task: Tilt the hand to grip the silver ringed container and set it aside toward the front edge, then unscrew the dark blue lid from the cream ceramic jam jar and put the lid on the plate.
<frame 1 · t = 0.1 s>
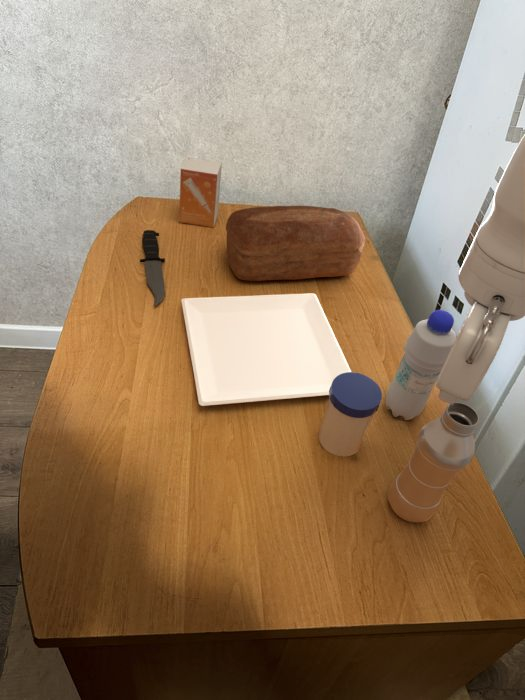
hand: (457, 372, 61), 22 cm above the table, tool pointing down, fingers open, 8 cm apart
bottle: (401, 409, 86), on the table
knife: (153, 270, 106), on the table
lid: (356, 392, 73), point 10 cm above the table, screwed on, not yet turned
small box: (199, 219, 122), on the table
plate: (263, 350, 93), on the table
jar: (339, 438, 80), on the table
silver ringed container: (407, 507, 73), on the table
bread: (289, 266, 113), on the table
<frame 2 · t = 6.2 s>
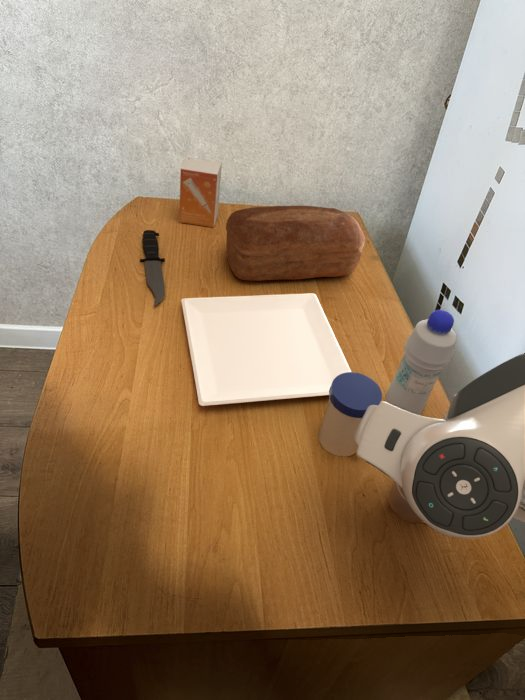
hand: (439, 456, 65), 11 cm above the table, tool tilted 45°, fingers closed on silver ringed container, 6 cm apart
silver ringed container: (407, 507, 73), on the table, touching gripper
everything else where it was.
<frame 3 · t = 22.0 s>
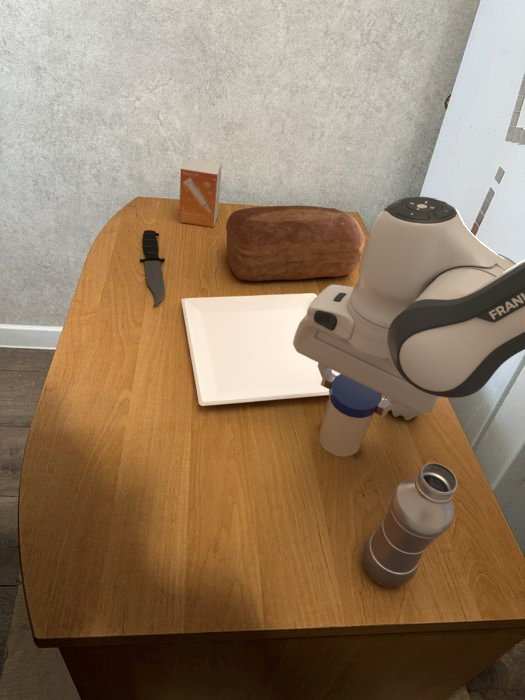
hand: (353, 398, 74), 9 cm above the table, tool pointing down, fingers closed on lid, 7 cm apart
lid: (356, 392, 73), point 10 cm above the table, screwed on, not yet turned, touching gripper
silver ringed container: (383, 567, 66), on the table
everything else where it was.
when the fingers open (3 cm above the table, at t = 47.7 s): lid drops 1 cm, resting on plate.
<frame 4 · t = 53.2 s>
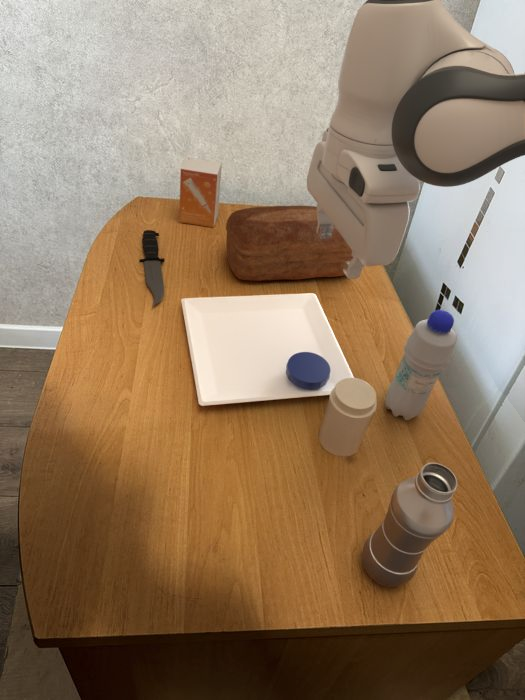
hand: (336, 255, 71), 25 cm above the table, tool pointing down, fingers open, 8 cm apart
lid: (308, 368, 86), point 3 cm above the table, off its thread, touching plate
plate: (263, 350, 93), on the table, touching lid
everything else where it was.
at the end: lid inside the target area on the plate (10.0 cm from its centre), point 3.6 cm above the plate's base; the gripper is holding nothing; silver ringed container inside the target area (0.5 cm from its centre), on the table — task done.
